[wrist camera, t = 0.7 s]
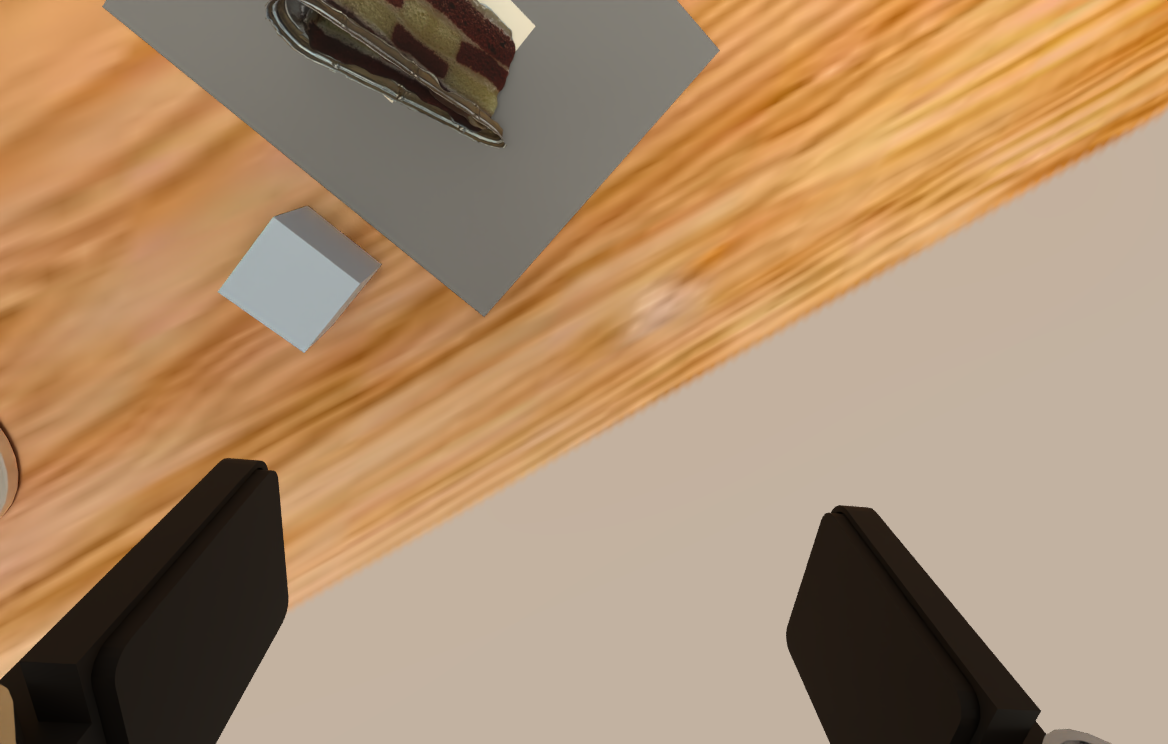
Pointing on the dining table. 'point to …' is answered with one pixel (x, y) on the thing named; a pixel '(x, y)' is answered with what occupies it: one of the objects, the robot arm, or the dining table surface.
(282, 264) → the cube
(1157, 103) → the dining table surface
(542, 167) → the letter mat
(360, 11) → the chocolate cake
